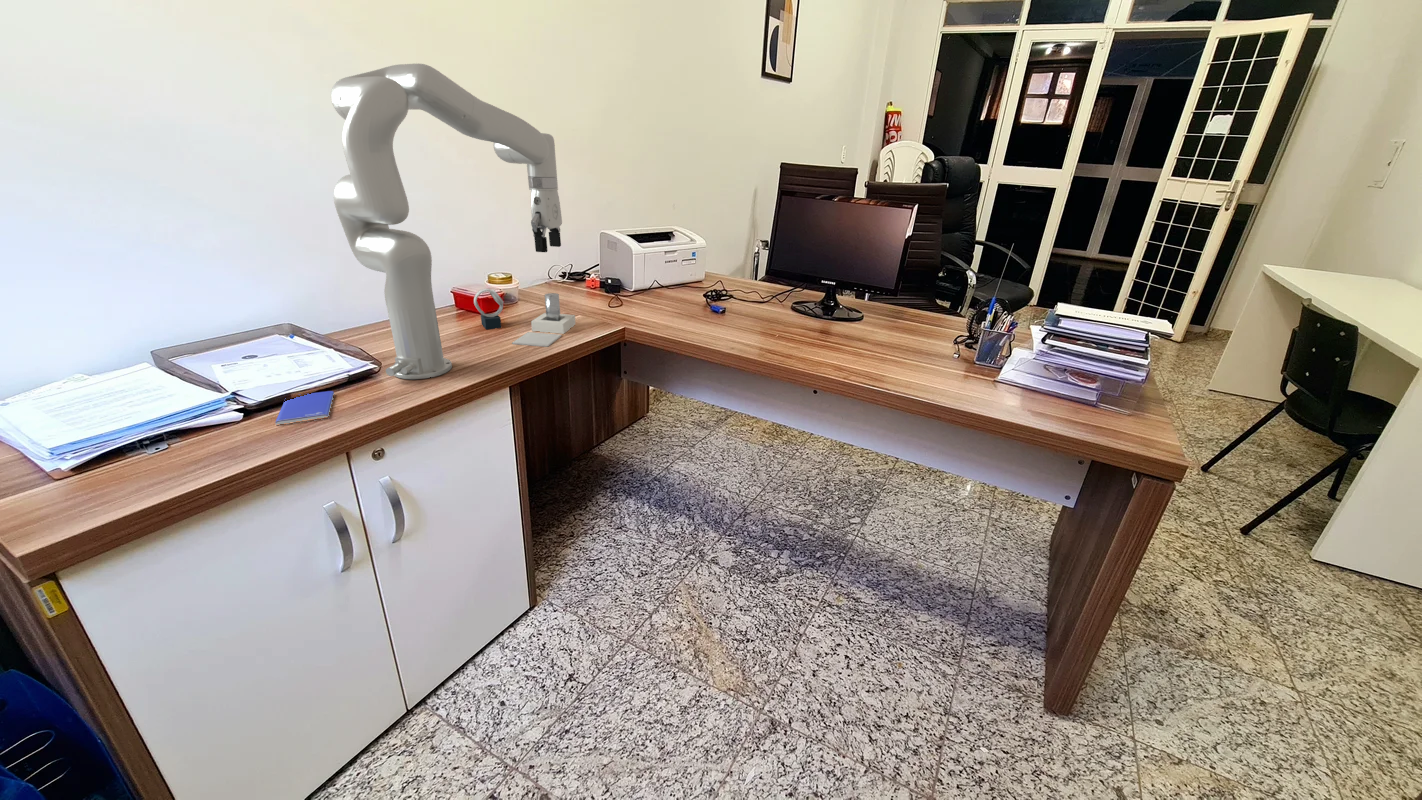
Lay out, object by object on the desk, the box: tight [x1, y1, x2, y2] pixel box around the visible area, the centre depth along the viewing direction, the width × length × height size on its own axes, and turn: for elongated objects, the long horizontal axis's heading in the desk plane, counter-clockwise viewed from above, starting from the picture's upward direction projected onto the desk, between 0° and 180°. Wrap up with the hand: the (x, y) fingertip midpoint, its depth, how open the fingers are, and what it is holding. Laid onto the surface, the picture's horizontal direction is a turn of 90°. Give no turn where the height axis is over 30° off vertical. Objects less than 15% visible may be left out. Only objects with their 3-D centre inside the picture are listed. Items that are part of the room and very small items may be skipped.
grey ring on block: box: [473, 288, 505, 330], centre depth 161 cm, size 6×8×11 cm
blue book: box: [274, 390, 335, 426], centre depth 109 cm, size 2×8×12 cm
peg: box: [544, 292, 561, 321], centre depth 162 cm, size 4×4×10 cm
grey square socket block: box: [530, 312, 576, 335], centre depth 164 cm, size 10×10×3 cm
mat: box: [511, 331, 562, 348], centre depth 153 cm, size 10×10×1 cm
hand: (548, 249), depth 155 cm, fingers open, 9 cm apart
